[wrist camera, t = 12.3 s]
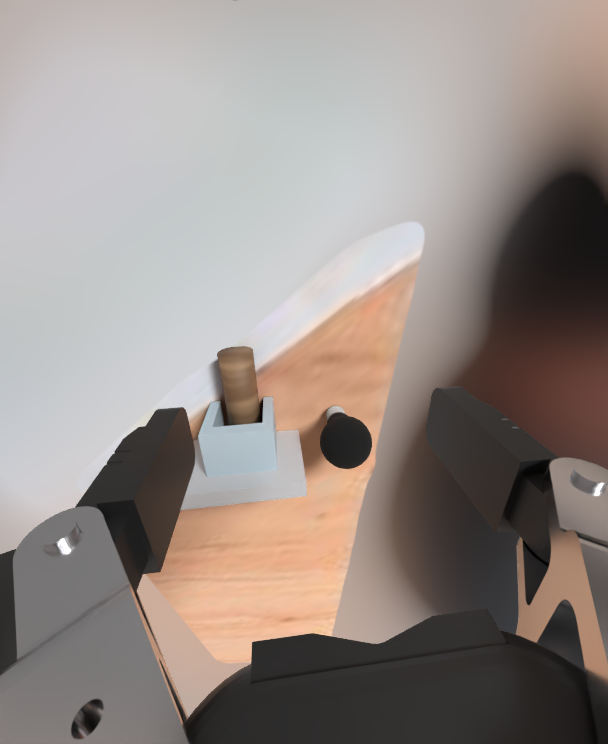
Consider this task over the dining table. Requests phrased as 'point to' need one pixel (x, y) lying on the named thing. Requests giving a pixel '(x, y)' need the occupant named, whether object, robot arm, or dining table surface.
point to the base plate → (250, 479)
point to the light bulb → (345, 439)
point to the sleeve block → (238, 443)
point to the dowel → (239, 385)
